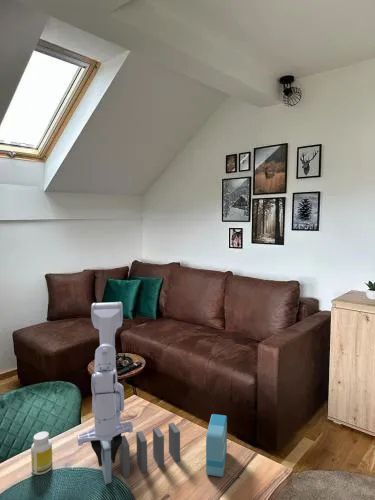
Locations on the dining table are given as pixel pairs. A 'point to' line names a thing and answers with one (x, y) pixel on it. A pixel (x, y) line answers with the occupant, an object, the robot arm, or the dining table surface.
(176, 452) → the domino
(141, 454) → the domino
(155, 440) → the domino
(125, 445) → the domino
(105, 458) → the slate domino
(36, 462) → the supplement bottle
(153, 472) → the dining table surface
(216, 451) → the data package
